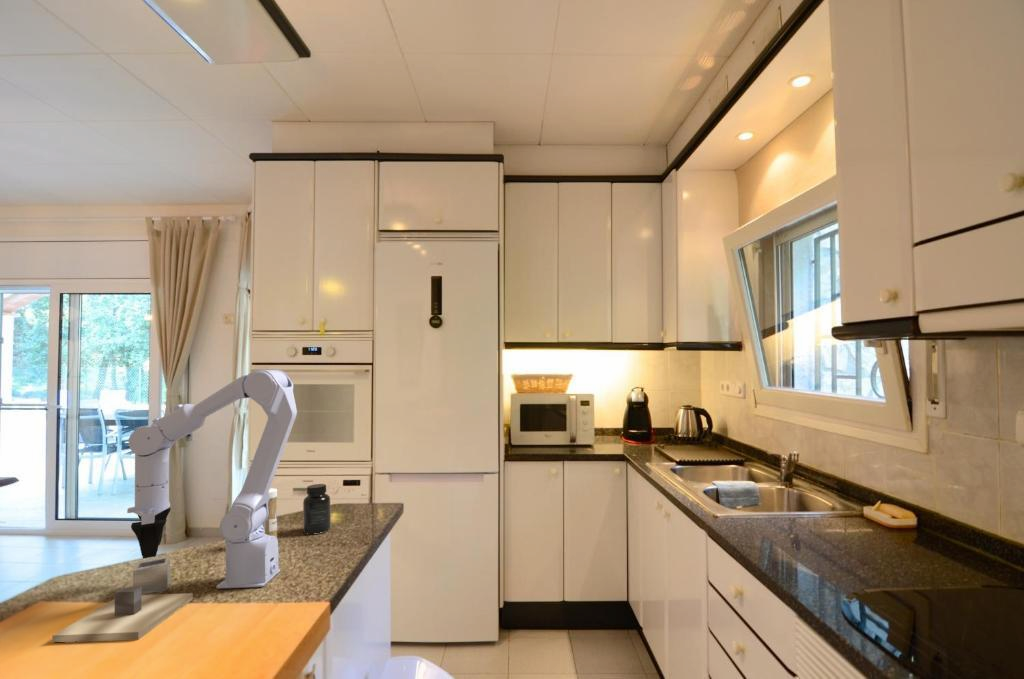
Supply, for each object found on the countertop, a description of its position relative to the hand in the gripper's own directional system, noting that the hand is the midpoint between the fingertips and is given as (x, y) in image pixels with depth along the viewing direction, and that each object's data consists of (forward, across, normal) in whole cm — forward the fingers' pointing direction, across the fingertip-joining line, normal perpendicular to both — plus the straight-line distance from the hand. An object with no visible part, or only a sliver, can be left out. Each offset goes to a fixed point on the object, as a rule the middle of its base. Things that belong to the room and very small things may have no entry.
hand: (151, 551), depth 102 cm
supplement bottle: (+8, -18, +35) cm, 40 cm away
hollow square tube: (+7, 0, 0) cm, 7 cm away
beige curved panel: (+7, +14, -2) cm, 16 cm away
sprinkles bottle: (+8, -15, +22) cm, 28 cm away
